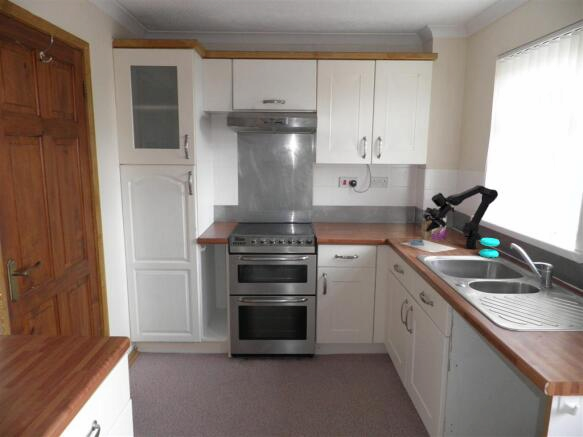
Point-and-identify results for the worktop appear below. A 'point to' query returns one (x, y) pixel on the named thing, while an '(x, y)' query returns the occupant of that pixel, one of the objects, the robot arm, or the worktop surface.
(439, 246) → the white rectangular sheet
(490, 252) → the pair of cyan ovals
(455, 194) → the robot arm
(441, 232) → the candy bar box
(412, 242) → the socket
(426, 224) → the walnut column
